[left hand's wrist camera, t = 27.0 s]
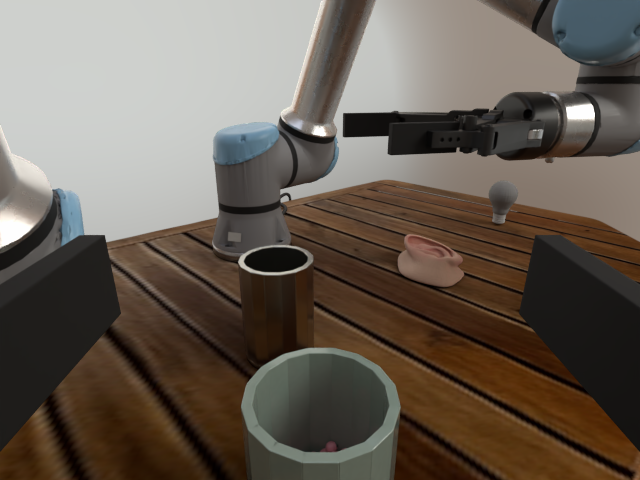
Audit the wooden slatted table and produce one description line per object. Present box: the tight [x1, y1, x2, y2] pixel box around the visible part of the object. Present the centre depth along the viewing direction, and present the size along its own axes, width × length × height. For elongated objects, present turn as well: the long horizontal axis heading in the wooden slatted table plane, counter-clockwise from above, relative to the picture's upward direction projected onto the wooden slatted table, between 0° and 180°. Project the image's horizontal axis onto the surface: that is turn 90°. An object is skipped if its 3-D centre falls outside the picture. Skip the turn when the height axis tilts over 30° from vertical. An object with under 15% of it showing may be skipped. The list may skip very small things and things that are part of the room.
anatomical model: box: [398, 235, 464, 287], centre depth 69 cm, size 13×4×12 cm
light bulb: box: [489, 181, 518, 224], centre depth 91 cm, size 6×6×10 cm
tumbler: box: [238, 245, 314, 369], centre depth 46 cm, size 8×8×12 cm
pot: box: [241, 348, 401, 480], centre depth 28 cm, size 10×10×11 cm
